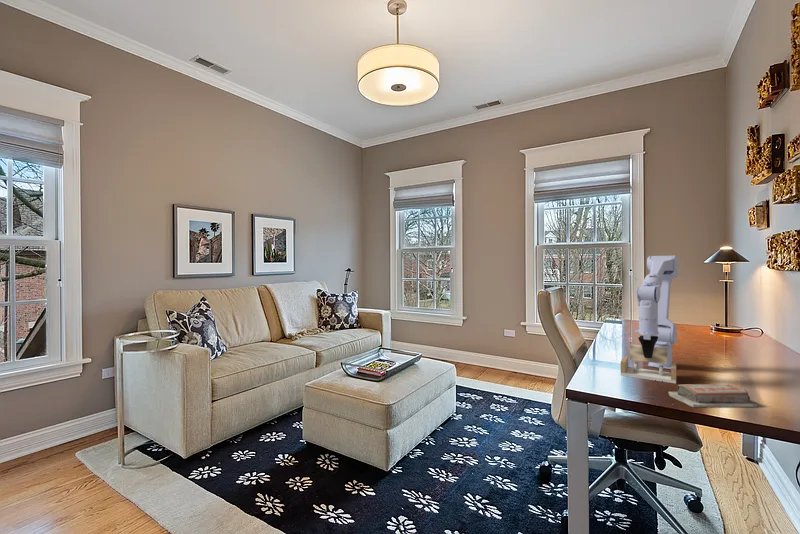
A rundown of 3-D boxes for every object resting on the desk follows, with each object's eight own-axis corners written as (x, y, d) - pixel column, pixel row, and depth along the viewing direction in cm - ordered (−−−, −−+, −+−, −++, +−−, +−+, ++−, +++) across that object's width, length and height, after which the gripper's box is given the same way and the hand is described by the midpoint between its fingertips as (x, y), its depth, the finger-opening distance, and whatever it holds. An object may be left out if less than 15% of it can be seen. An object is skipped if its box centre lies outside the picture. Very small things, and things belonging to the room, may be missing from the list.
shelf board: (667, 362, 135) (667, 348, 135) (666, 364, 132) (666, 349, 132) (630, 357, 141) (630, 344, 141) (629, 359, 138) (629, 345, 138)
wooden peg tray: (624, 368, 146) (624, 355, 146) (676, 376, 136) (676, 362, 136) (620, 375, 137) (620, 361, 137) (676, 383, 127) (676, 368, 127)
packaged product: (726, 381, 116) (757, 392, 106) (726, 397, 116) (757, 409, 106) (667, 380, 115) (693, 391, 106) (667, 396, 115) (693, 409, 106)
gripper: (637, 316, 145) (637, 351, 145) (633, 320, 133) (633, 359, 133) (659, 317, 141) (659, 354, 141) (657, 322, 129) (657, 362, 129)
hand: (648, 356), depth 137 cm, fingers closed on shelf board, 3 cm apart
